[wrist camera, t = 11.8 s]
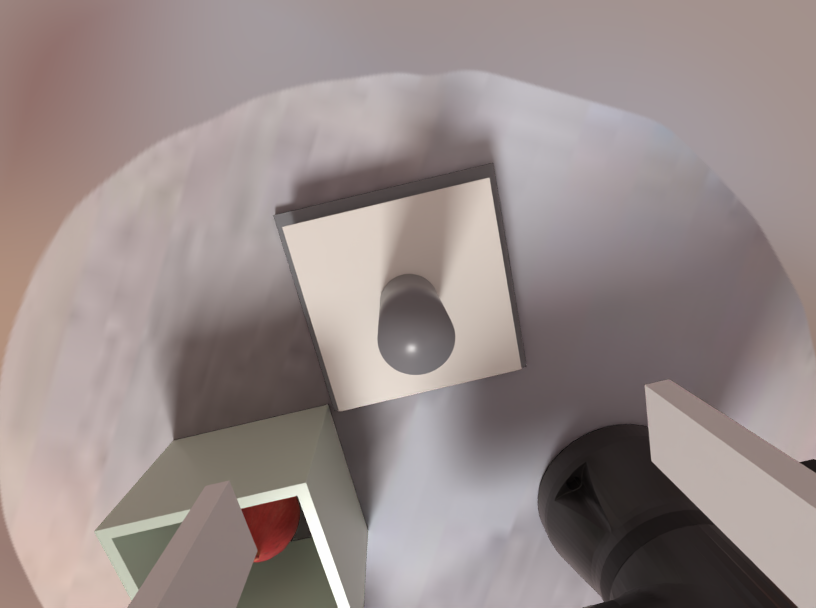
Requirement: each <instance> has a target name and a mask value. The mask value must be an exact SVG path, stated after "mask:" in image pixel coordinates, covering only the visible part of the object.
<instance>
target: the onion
mask: <svg viewBox="0 0 816 608" xmlns="http://www.w3.org/2000/svg"><path fill="white" fill-rule="evenodd" d="M241 510H242V513H243V515H244V518H245V520H246V523H247V525H248V528H249V530H250V533H251V535H252V538H253V540H254V543H255V545H256V548H257V550H258V551H257V553H256V556H255V559H254V561H253V562H262V561H266V560H269V559H271V558H272V557H274V556H276V555H277V554H279V553H280V552H282V551H283V550H284V549H285V548H286V546H287V545H288V544H289V542H290V541H291V539H292V538H293V536H294V535H295V533H296V530H297V527H298V523H299V519H300V507H299V503H298V500H297V497H296V496H294V497H290V498H285V499H281V500H277V501H272V502H268V503H263V504H259V505H255V506H250V507H246V508H242V509H241Z"/></svg>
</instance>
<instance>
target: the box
mask: <svg viewBox="0 0 816 608" xmlns="http://www.w3.org/2000/svg"><path fill="white" fill-rule="evenodd" d="M225 481H230V483H231V486H232V488H233V491H234V493H235V496H236V498H237V501H238V503H239V506H240V508H241V509H242V508H246V507H250V506H255V505H259V504H263V503H268V502H272V501H277V500H281V499H285V498H290V497H294V496H298V498H299V501H300V504H301V507H302V509H303V512H304V515H305V518H306V521H307V523H308V526H309V529H310V532H311V534H312V537H310V538H306V539H301V540H297V541H293V542H289V544H288V545H287V546H286V548H285V549H284V550H283V551H282V552H280V553H279V554H277V555H276V556H274V557H272V558H271V559H269V560H266V561H262V562H253V564H252V567H251V570H250V572H249V575H248V578H247V580H246V583H245V586H244V588H243V591H242V594H241V596H240V599H239V602H238V604H237V607H236V608H364V594H365V577H366V559H367V542H368V529H367V526H366V523H365V520H364V517H363V514H362V510H361V507H360V504H359V501H358V498H357V495H356V491H355V488H354V485H353V482H352V479H351V476H350V472H349V469H348V466H347V463H346V460H345V457H344V453H343V450H342V447H341V444H340V441H339V438H338V434H337V431H336V428H335V425H334V422H333V419H332V416H331V412H330V409H329V406H328V405H324V406H320V407H315V408H311V409H307V410H302V411H298V412H294V413H289V414H285V415H281V416H277V417H272V418H268V419H264V420H259V421H255V422H251V423H247V424H242V425H238V426H234V427H229V428H225V429H221V430H216V431H212V432H208V433H204V434H199V435H195V436H191V437H186V438H182V439H178V440H173V441H172V442H171V444H170V445H169V446H168V447H167V448H166V449H165V451H164V452H163V453H162V454H161V455H160V456H159V457H158V459H157V460H156V461H155V462H154V463H153V464H152V465H151V467H150V468H149V469H148V470H147V471H146V472H145V474H144V475H143V476H142V477H141V478H140V479H139V480H138V482H137V483H136V484H135V485H134V486H133V487H132V488H131V490H130V491H129V492H128V493H127V494H126V495H125V497H124V498H123V499H122V500H121V501H120V502H119V503H118V505H117V506H116V507H115V508H114V509H113V510H112V511H111V513H110V514H109V515H108V516H107V517H106V518H105V520H104V521H103V522H102V523H101V524H100V525H99V526H98V528H97V529H96V530H95V531H94V532H95V534H96V536H97V538H98V539H99V541H100V543H101V545H102V547H103V549H104V551H105V552H106V554H107V556H108V558H109V560H110V562H111V564H112V565H113V567H114V569H115V571H116V573H117V575H118V576H119V578H120V580H121V582H122V584H123V586H124V588H125V589H126V591H127V593H128V595H129V597H130V599H131V601H132V600H133V598H134V597H135V595H136V593H137V592H138V590H139V589H140V587H141V586H142V584H143V583H144V581H145V579H146V578H147V576H148V575H149V573H150V572H151V570H152V569H153V567H154V565H155V564H156V562H157V561H158V559H159V558H160V556H161V555H162V553H163V551H164V550H165V548H166V547H167V545H168V544H169V542H170V540H171V539H172V537H173V536H174V534H175V533H176V531H177V530H178V528H179V526H180V525H181V523H182V522H183V520H184V519H185V517H186V516H187V514H188V512H189V511H190V509H191V508H192V506H193V505H194V503H195V502H196V500H197V498H198V497H199V495H200V494H201V492H202V491H203V489H204V487H205V486H207V485H211V484H216V483H220V482H225Z"/></svg>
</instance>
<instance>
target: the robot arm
mask: <svg viewBox="0 0 816 608" xmlns="http://www.w3.org/2000/svg"><path fill="white" fill-rule="evenodd" d="M645 395H646V407H647V418H648V427H646V426H640V425H616V426H610V427H606V428H602V429H599V430H596V431H593V432H591V433H589V434H586V435H584V436H583V437H581V438H579V439H577V440H576V441H574V442H573V443H571V444H570V445H569V446H568V447H566V448H565V449H564V450H563V451H562V452H561V453H560V454H559V455H558V456H557V457H556V458H555V459H554V461H553V462H552V463H551V465H550V466H549V468H548V469H547V471H546V473H545V475H544V477H543V479H542V482H541V485H540V489H539V494H538V511H539V516H540V519H541V522H542V524H543V526H544V528H545V531H546V533H547V535H548V537H549V539H550V541H551V543H552V545H553V546H554V548H555V549H556V551H557V552H558V553H559V554H560V555H561V557H562V558H563V559H564V560H565V561H566V562H567V563H568V564H569V565H570V566H571V567H572V568H573V569H574V570H575V571H576V572H577V573H578V574H579V575H580V576H581V577H582V578H583V579H584V580H585V581H586V582H587V583H588V584H589V585H590V586H591V587H592V588H593V589H594V590H595V591H596V592H597V593H598V594H599V595H600V596H601V598H602V599H603V601H604V602H603V603H600V604H596V605H590V606H587V607H583V608H816V460H815V459H812V460H808V461H803V462H798V461H796V460H795V459H793V458H792V457H790V456H788V455H787V454H785V453H784V452H782V451H781V450H779V449H777V448H776V447H774V446H773V445H771V444H770V443H768V442H767V441H765V440H763V439H762V438H760V437H759V436H757V435H756V434H754V433H753V432H751V431H749V430H748V429H746V428H745V427H743V426H742V425H740V424H738V423H737V422H735V421H734V420H732V419H731V418H729V417H728V416H726V415H724V414H723V413H721V412H720V411H718V410H717V409H715V408H714V407H712V406H710V405H709V404H707V403H706V402H704V401H703V400H701V399H699V398H698V397H696V396H695V395H693V394H692V393H690V392H689V391H687V390H685V389H684V388H682V387H681V386H679V385H678V384H676V383H675V382H673V381H671V380H670V379H667V380H663V381H659V382H654V383H650V384H646V385H645ZM257 551H258V550H257V548H256V545H255V543H254V540H253V538H252V535H251V533H250V530H249V528H248V525H247V523H246V520H245V518H244V515H243V513H242V510H241V508H240V506H239V503H238V501H237V498H236V496H235V493H234V491H233V488H232V486H231V483H230V481H225V482H220V483H216V484H211V485H207V486H205V487H204V489H203V491H202V492H201V494H200V495H199V497H198V498H197V500H196V502H195V503H194V505H193V506H192V508H191V509H190V511H189V512H188V514H187V516H186V517H185V519H184V520H183V522H182V523H181V525H180V526H179V528H178V530H177V531H176V533H175V534H174V536H173V537H172V539H171V540H170V542H169V544H168V545H167V547H166V548H165V550H164V551H163V553H162V555H161V556H160V558H159V559H158V561H157V562H156V564H155V565H154V567H153V569H152V570H151V572H150V573H149V575H148V576H147V578H146V579H145V581H144V583H143V584H142V586H141V587H140V589H139V590H138V592H137V593H136V595H135V597H134V598H133V600H132V601H131V603H130V604H129V606H128V608H236V607H237V604H238V602H239V599H240V596H241V594H242V591H243V588H244V586H245V583H246V580H247V578H248V575H249V572H250V570H251V567H252V564H253V561H254V559H255V556H256V553H257Z"/></svg>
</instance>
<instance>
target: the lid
mask: <svg viewBox="0 0 816 608" xmlns="http://www.w3.org/2000/svg"><path fill="white" fill-rule="evenodd" d="M282 228H283V232H284V235H285V238H286V241H287V245H288V248H289V251H290V254H291V258H292V261H293V264H294V267H295V270H296V274H297V277H298V280H299V283H300V287H301V290H302V293H303V296H304V300H305V303H306V306H307V309H308V313H309V316H310V319H311V322H312V325H313V329H314V332H315V335H316V338H317V342H318V345H319V348H320V351H321V355H322V358H323V361H324V364H325V367H326V371H327V374H328V377H329V380H330V384H331V387H332V390H333V393H334V397H335V400H336V403H337V406H338V410H339V412H340V411H344V410H349V409H353V408H357V407H362V406H366V405H370V404H374V403H379V402H383V401H387V400H392V399H396V398H400V397H405V396H409V395H413V394H418V393H422V392H426V391H430V390H435V389H439V388H443V387H448V386H452V385H456V384H461V383H465V382H469V381H473V380H478V379H482V378H486V377H491V376H495V375H499V374H504V373H508V372H512V371H517V370H521V369H522V368H521V363H520V357H519V351H518V345H517V339H516V333H515V327H514V321H513V315H512V309H511V303H510V297H509V291H508V285H507V279H506V273H505V267H504V261H503V255H502V249H501V244H500V238H499V232H498V226H497V220H496V214H495V208H494V202H493V196H492V190H491V184H490V178H485V179H480V180H476V181H472V182H468V183H464V184H459V185H455V186H451V187H447V188H443V189H438V190H434V191H430V192H426V193H422V194H418V195H413V196H409V197H405V198H401V199H397V200H392V201H388V202H384V203H380V204H376V205H371V206H367V207H363V208H359V209H355V210H350V211H346V212H342V213H338V214H334V215H329V216H325V217H321V218H317V219H313V220H309V221H304V222H300V223H296V224H292V225H288V226H284V227H282Z"/></svg>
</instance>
